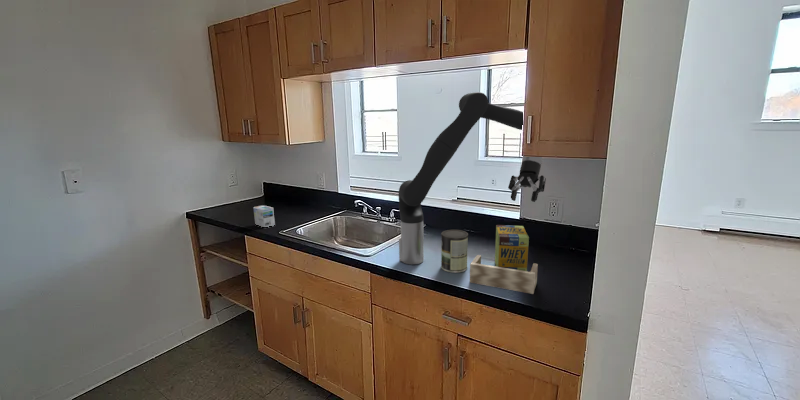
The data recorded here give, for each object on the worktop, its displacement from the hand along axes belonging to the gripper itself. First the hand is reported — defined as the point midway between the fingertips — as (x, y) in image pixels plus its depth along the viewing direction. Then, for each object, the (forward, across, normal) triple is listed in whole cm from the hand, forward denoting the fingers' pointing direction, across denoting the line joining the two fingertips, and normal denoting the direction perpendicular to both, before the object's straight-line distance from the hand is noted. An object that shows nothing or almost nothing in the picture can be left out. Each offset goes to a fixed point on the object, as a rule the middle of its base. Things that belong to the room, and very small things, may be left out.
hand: (522, 200), depth 145 cm
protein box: (+28, 0, +2) cm, 28 cm away
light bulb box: (+36, -130, -40) cm, 140 cm away
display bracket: (+34, +4, -8) cm, 35 cm away
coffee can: (+33, -16, -10) cm, 38 cm away
